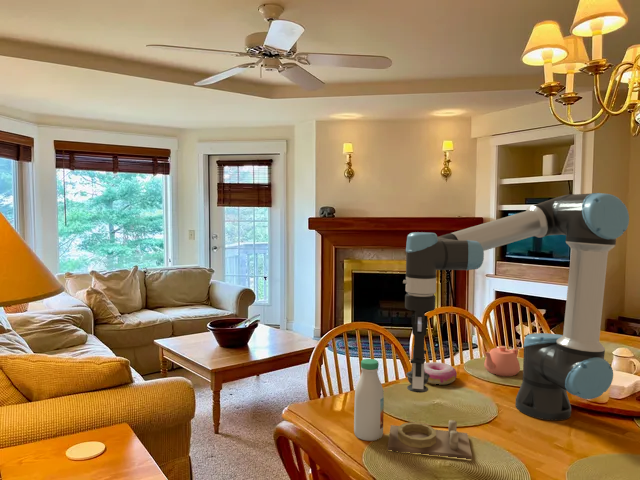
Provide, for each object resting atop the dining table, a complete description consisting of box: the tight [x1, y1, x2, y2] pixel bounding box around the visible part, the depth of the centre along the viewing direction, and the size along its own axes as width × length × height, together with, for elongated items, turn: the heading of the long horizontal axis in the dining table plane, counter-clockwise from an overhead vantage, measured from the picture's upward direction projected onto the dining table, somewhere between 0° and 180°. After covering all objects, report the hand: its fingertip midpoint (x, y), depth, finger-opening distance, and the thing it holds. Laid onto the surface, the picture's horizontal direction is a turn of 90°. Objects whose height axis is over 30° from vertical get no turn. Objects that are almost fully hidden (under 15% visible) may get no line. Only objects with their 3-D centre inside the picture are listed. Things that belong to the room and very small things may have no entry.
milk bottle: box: [353, 358, 385, 442], centre depth 125 cm, size 8×8×20 cm
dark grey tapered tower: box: [405, 347, 430, 394], centre depth 120 cm, size 6×6×12 cm
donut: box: [424, 361, 458, 386], centre depth 168 cm, size 14×13×5 cm
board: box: [387, 419, 473, 460], centre depth 121 cm, size 20×12×5 cm, turn 78°
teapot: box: [483, 345, 521, 377], centre depth 176 cm, size 12×18×10 cm
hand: (417, 383), depth 121 cm, fingers closed on dark grey tapered tower, 6 cm apart
